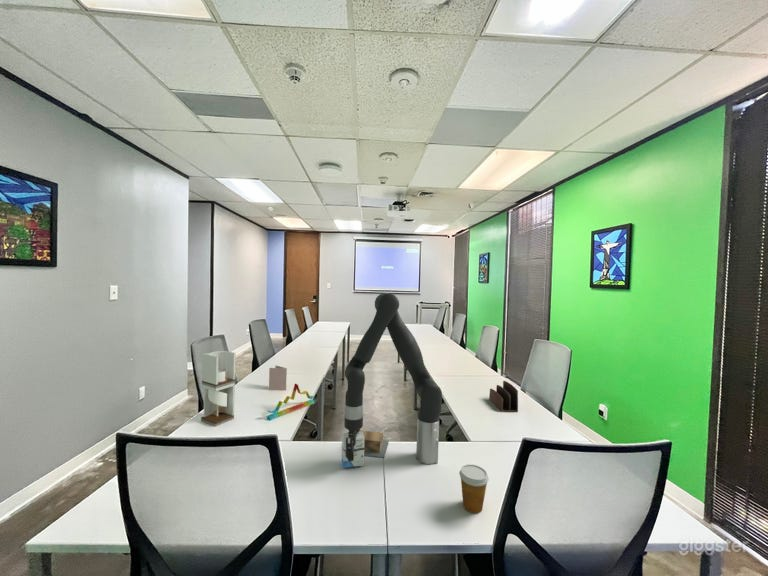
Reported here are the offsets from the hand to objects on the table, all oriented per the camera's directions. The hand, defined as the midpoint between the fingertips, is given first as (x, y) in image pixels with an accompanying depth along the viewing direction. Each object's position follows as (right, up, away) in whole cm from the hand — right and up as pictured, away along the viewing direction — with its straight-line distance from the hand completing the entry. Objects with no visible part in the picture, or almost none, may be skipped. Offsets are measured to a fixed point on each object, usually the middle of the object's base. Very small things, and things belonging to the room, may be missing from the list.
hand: (352, 455), depth 126 cm
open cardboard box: (+6, -4, +14) cm, 16 cm away
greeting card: (-60, -1, +84) cm, 103 cm away
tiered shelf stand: (-75, -1, +36) cm, 83 cm away
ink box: (0, -3, 0) cm, 3 cm away
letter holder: (+87, -6, +69) cm, 111 cm away
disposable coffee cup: (+43, -6, -21) cm, 48 cm away
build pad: (+6, -4, +14) cm, 16 cm away
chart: (-40, -2, +51) cm, 65 cm away
